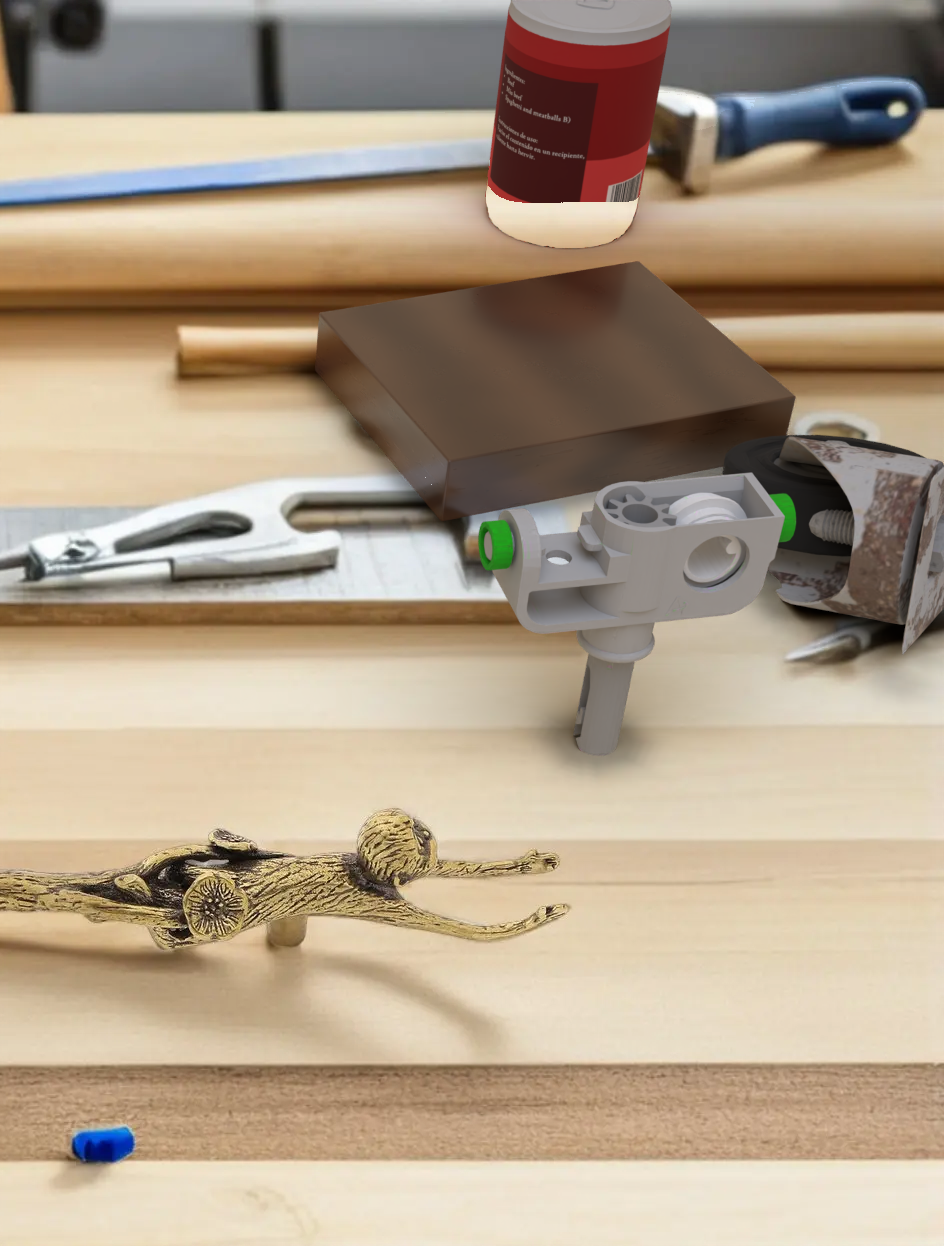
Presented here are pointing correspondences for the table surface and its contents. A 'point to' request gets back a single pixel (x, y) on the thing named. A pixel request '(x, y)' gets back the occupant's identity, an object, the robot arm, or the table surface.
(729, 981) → the table surface
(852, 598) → the caster wheel
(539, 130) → the canned food
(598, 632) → the mechanical component
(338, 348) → the plinth
